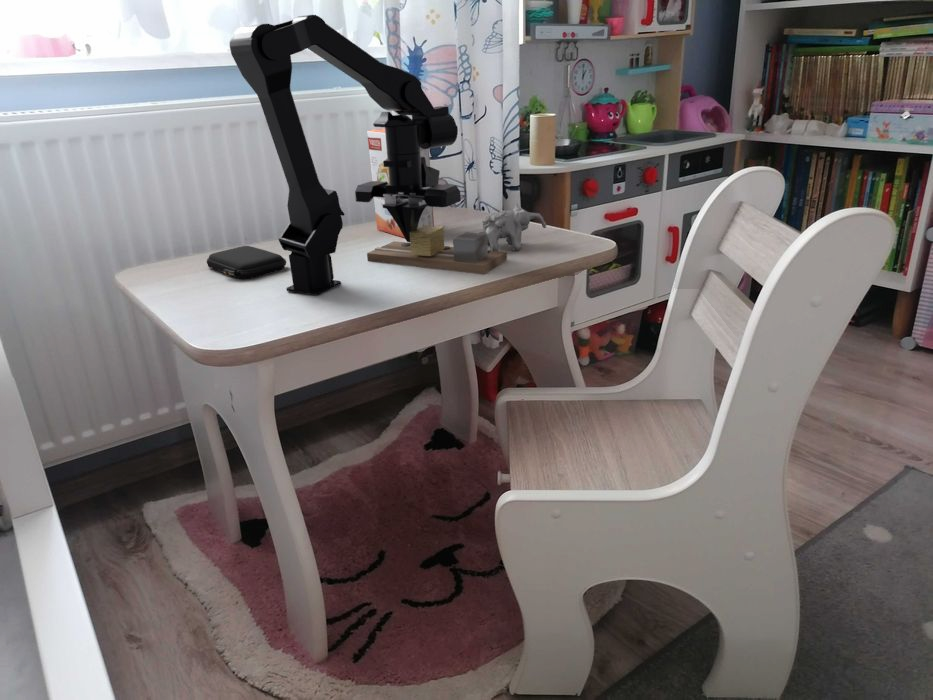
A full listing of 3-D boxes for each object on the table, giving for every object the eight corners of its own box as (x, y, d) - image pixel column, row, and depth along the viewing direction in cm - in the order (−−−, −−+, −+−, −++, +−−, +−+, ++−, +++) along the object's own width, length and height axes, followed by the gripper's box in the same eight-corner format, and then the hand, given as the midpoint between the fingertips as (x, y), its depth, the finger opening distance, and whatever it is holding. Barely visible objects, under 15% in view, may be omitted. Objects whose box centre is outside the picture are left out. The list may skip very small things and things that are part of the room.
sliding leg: (430, 256, 121) (429, 233, 119) (411, 254, 123) (409, 232, 121) (451, 246, 127) (450, 224, 125) (432, 244, 129) (431, 222, 127)
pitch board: (484, 274, 117) (483, 242, 114) (367, 261, 127) (364, 231, 125) (506, 260, 124) (506, 229, 122) (394, 248, 135) (392, 220, 132)
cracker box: (375, 230, 149) (365, 129, 141) (398, 225, 153) (390, 126, 145) (411, 241, 139) (403, 133, 131) (435, 236, 143) (429, 130, 134)
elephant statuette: (474, 248, 134) (471, 209, 130) (526, 235, 139) (524, 197, 135) (499, 259, 126) (496, 218, 123) (553, 245, 131) (551, 205, 128)
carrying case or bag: (198, 270, 128) (238, 285, 118) (195, 254, 127) (234, 268, 117) (250, 257, 135) (292, 270, 125) (247, 242, 134) (289, 254, 124)
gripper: (473, 147, 121) (476, 235, 127) (384, 145, 129) (391, 228, 135) (442, 156, 112) (447, 250, 118) (348, 153, 120) (358, 241, 126)
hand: (410, 241), depth 125 cm, fingers closed
